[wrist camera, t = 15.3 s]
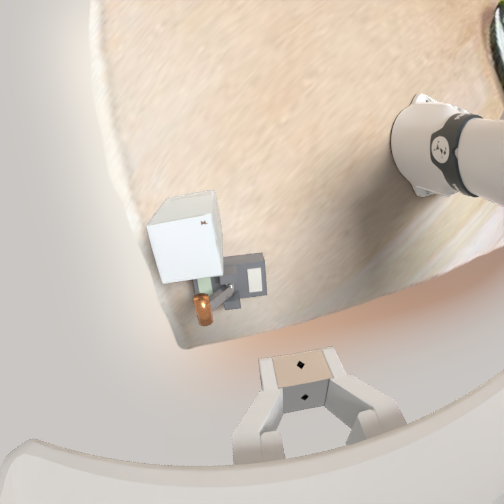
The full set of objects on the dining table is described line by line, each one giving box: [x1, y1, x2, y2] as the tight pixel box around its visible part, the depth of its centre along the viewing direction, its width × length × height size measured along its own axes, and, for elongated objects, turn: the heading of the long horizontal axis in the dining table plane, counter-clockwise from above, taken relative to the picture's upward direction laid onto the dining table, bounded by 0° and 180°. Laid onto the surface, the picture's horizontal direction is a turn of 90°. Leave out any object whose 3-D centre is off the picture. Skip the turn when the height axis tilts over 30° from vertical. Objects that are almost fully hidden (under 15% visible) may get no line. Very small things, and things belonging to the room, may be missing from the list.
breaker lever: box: [193, 283, 235, 326], centre depth 38 cm, size 2×4×8 cm
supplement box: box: [146, 190, 223, 284], centre depth 34 cm, size 7×7×13 cm
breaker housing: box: [193, 253, 267, 310], centre depth 42 cm, size 11×6×6 cm, turn 94°
